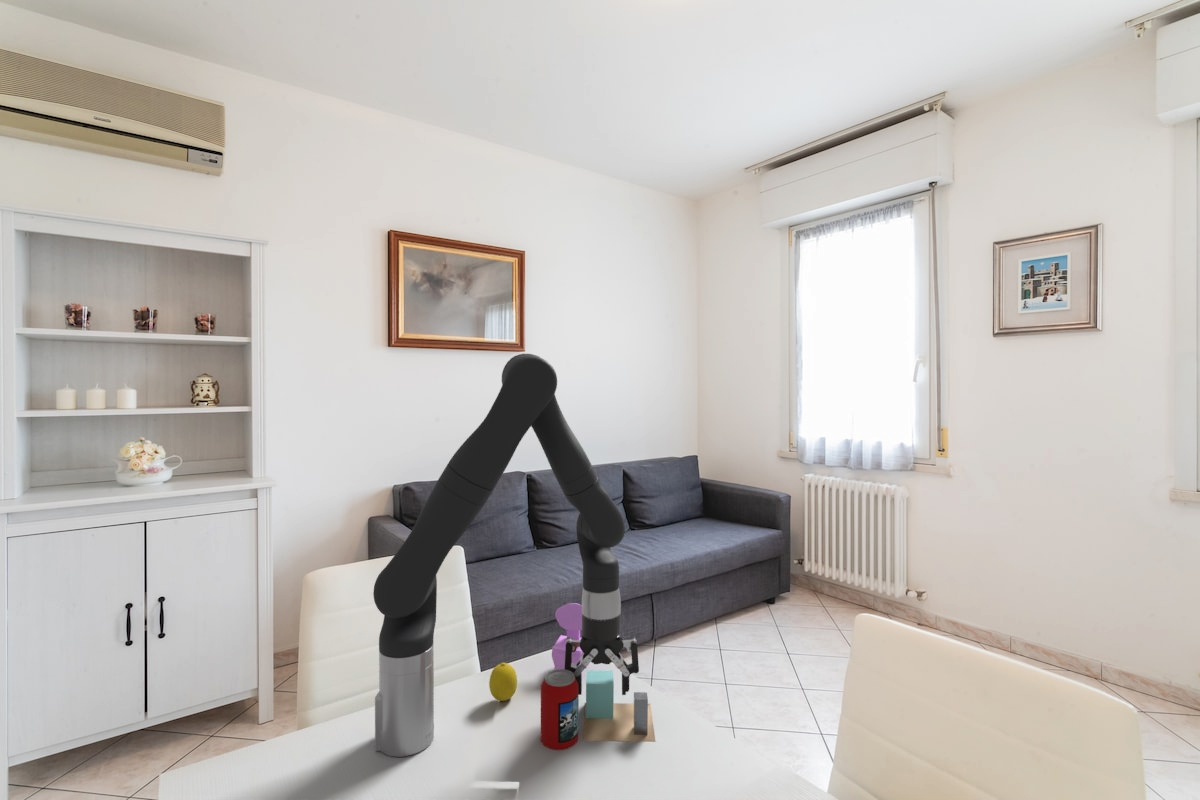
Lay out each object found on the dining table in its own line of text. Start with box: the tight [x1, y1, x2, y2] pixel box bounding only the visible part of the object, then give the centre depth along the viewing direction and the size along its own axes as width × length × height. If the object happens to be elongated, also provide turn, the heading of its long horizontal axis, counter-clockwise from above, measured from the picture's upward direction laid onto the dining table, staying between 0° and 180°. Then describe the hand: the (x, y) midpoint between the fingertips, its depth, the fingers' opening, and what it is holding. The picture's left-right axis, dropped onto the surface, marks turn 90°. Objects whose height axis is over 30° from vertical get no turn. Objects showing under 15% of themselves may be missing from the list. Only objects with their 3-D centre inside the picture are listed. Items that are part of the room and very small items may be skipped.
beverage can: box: [540, 669, 580, 751], centre depth 103 cm, size 7×7×12 cm
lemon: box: [488, 662, 518, 702], centre depth 116 cm, size 6×6×8 cm
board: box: [582, 702, 656, 742], centre depth 109 cm, size 13×12×1 cm
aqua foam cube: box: [585, 669, 615, 718], centre depth 112 cm, size 5×5×7 cm
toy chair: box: [551, 602, 584, 670], centre depth 127 cm, size 8×9×15 cm
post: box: [633, 691, 649, 735], centre depth 106 cm, size 2×2×6 cm
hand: (601, 692), depth 112 cm, fingers open, 8 cm apart
